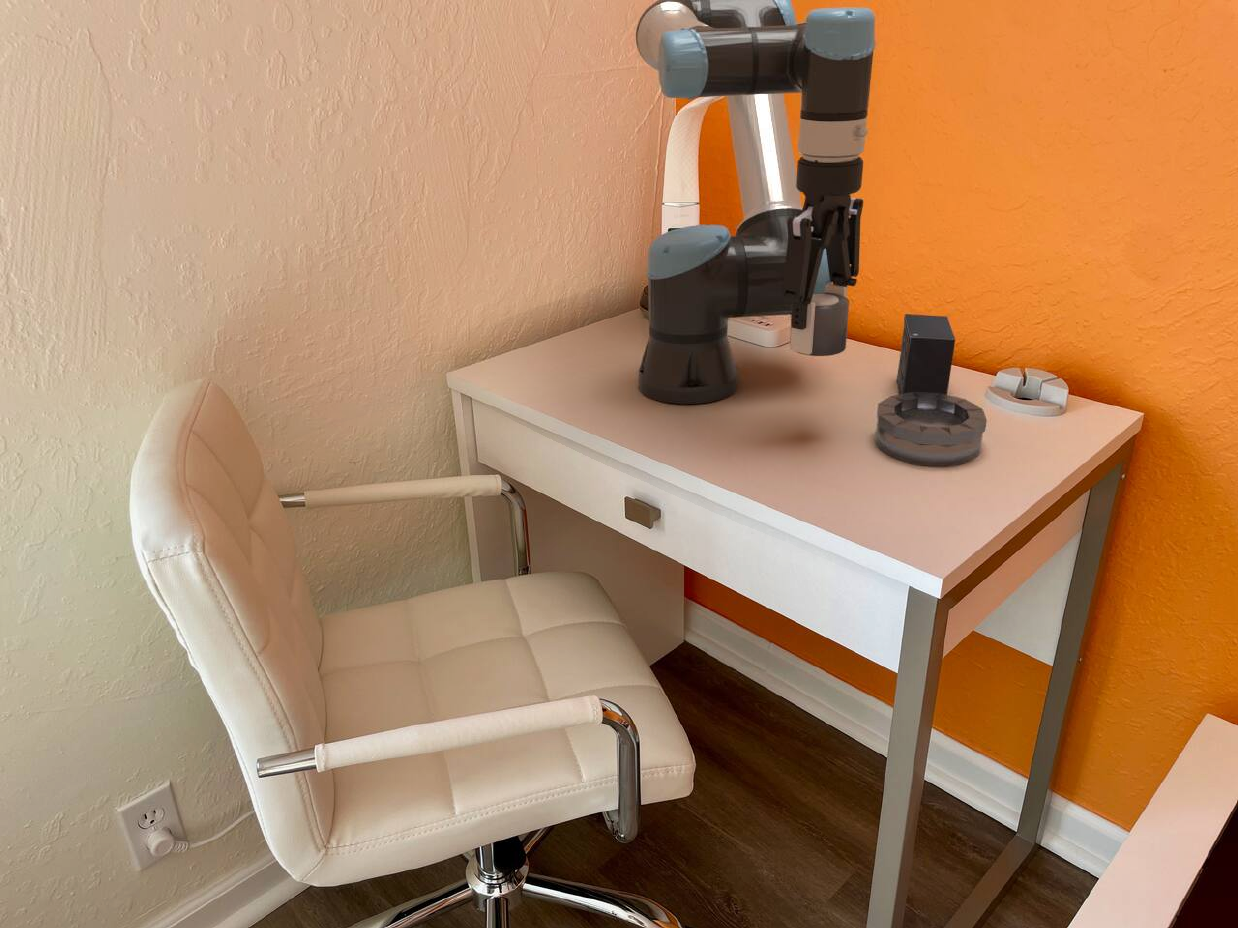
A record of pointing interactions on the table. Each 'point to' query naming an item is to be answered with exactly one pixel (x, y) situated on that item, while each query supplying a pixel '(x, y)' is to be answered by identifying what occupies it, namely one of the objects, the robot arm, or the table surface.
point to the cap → (829, 324)
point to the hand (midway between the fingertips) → (817, 342)
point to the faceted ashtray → (930, 429)
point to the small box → (925, 354)
